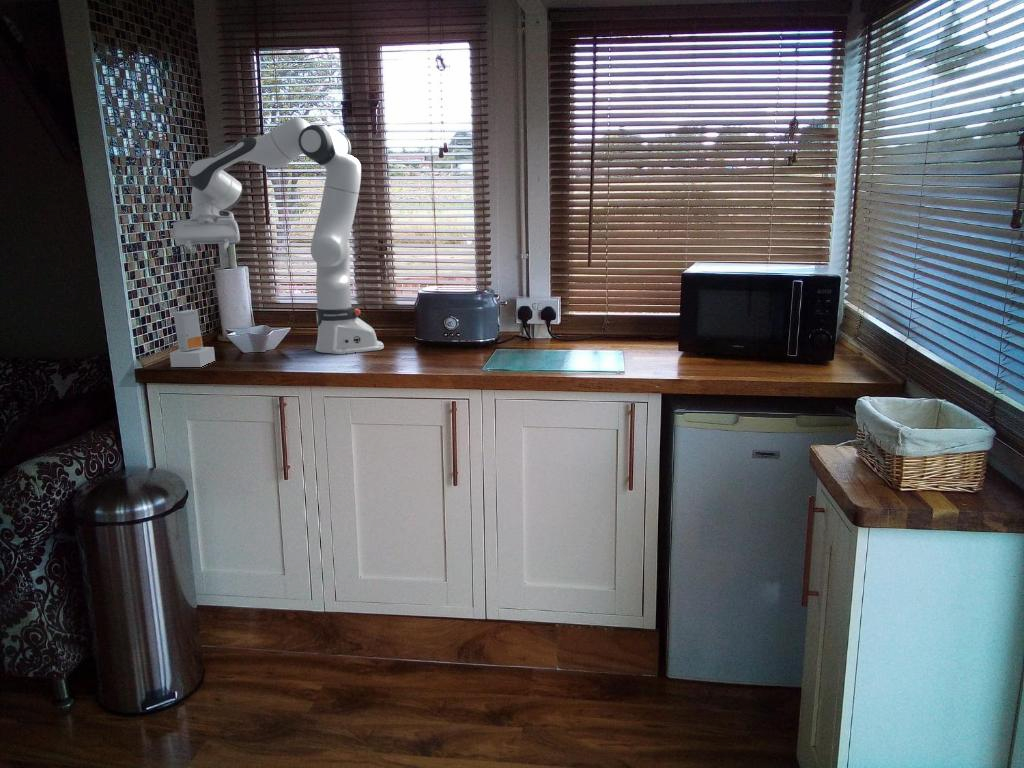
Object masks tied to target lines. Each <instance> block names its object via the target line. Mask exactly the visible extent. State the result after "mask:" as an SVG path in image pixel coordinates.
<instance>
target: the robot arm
mask: <svg viewBox="0 0 1024 768" xmlns="http://www.w3.org/2000/svg"><path fill="white" fill-rule="evenodd" d="M351 144H352V143H351V141H350V139H349V138H348V136H346V135H345V134H344V133H342V132H341V131H338V130H336V129H334V128H332V127H330V126H325V125H320V124H310V123H309V122H308V121H307V120H306V119H304V118H302V117H300V116H298V117H297V116H296V117H293V118H291V119H288V120H287V121H284V122H282V123H281V124H279V125H278V126H276V127H274V128H273V129H272V130H270V131H269V132H267V133H265V134H263V135H258V136H246V137H243V138H242V139H239V140H237V141H235V142H234V143H233V142H232V143H231V144H229V145H228V146H226V147H223V148H221V149H220V150H218V151H216V152H215V153H212V154H211V155H207V156H206V157H203V158H202V157H201V158H199V159H197V160H195V161H194V162H193V163H192V164H191V165H190V166H189V167H188V171H187V176H188V181H189V183H190V185H191V187H192V188H191V197H190V198H191V199H190V201H191V206H192V209H191V218H192V219H178V220H177V221H174V222H173V224H172V227H173V228H172V229H173V230H174V232H173V239H174V242H175V244H177V245H179V246H181V245H183V246H185V245H186V247H187V248H188V250H189V251H190V254H191V255H192V254H196V246H195V245H210V244H211V245H212V244H214V245H215V244H217V245H218V244H222V245H220V250H221V253H227V248H228V247H229V245H230V244H237V243H239V242H240V241H241V237H240V230H239V225H238V223H237V221H236V220H235V216H234V213H233V212H232V211H228V210H226V209H230V208H232V207H234V206H236V205H237V204H238V203H240V201H241V199H242V196H243V185H242V183H241V182H240V181H239V180H237V179H236V178H235V177H234V176H232V174H229V173H227V172H226V171H225V169H227V168H228V167H230V166H232V165H234V164H237V163H238V162H243V161H248V162H252V163H256V164H259V165H262V166H264V167H267V168H271V169H280V168H283V167H285V166H287V165H289V164H290V163H291V162H293V161H294V160H295V159H296V158H298V157H299V156H301V155H302V154H304V155H305V156H306V157H307V158H309V159H310V160H312V161H313V162H315V163H316V164H318V165H320V166H324V168H325V170H326V174H325V180H324V181H325V182H324V186H323V191H322V198H321V203H320V208H319V213H318V217H317V219H316V224H315V228H314V231H313V235H312V239H311V245H310V254H311V257H312V259H313V261H314V262H315V263H316V281H315V290H316V305H317V307H316V310H315V311H316V313H315V316H316V324H317V326H318V327H317V328H318V329H317V340H316V347H315V351H316V352H318V353H325V354H334V355H345V354H346V353H347V354H355V352H356V353H363V352H371V351H372V352H373V351H380V350H382V349H384V347H385V346H384V343H383V342H382V341H380V340H378V338H377V334H376V332H375V329H374V328H373V327H372V326H371V325H370V324H368V323H367V322H365V321H364V320H362V319H361V318H359V316H360V315H361V313H362V312H361V310H360V308H356V307H354V306H352V294H351V293H352V292H351V248H350V247H351V246H350V245H351V244H350V241H349V238H350V235H351V231H352V227H353V224H354V220H355V216H356V209H357V205H358V199H359V196H360V195H359V193H360V189H361V180H362V164H361V162H360V161H359V159H358V158H356V157H354V156H353V155H351V152H352V145H351ZM347 354H346V355H347Z"/></svg>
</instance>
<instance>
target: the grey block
mask: <svg viewBox="0 0 1024 768" xmlns="http://www.w3.org/2000/svg"><path fill="white" fill-rule="evenodd" d="M215 356H216V355H215V347H214V346H203V348H199V349H194V350H189V351H180V350H179V348H178V349H176V350H174V351H171V352H169V359H170V361H169V362H170V368H171V367H202V366H204V365H206V364H208V363H211V362H213V361H215V362H216V357H215ZM213 363H214V362H213ZM211 364H212V363H211ZM206 366H207V365H206ZM204 367H205V366H204ZM202 368H203V367H202Z"/></svg>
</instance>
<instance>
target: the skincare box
mask: <svg viewBox="0 0 1024 768" xmlns="http://www.w3.org/2000/svg"><path fill="white" fill-rule="evenodd" d="M172 315H173V320H174V327H175V334H176V340H177V345H178V349H179V350H180V351H189V350H194V349H199V348H203V347H204V344H203V339H202V338H203V337H202V331H201V326H200V325H201V324H200V319H199V317H200V316H199V311H198V309H187V310H180V311H175V312H173V313H172Z"/></svg>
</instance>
